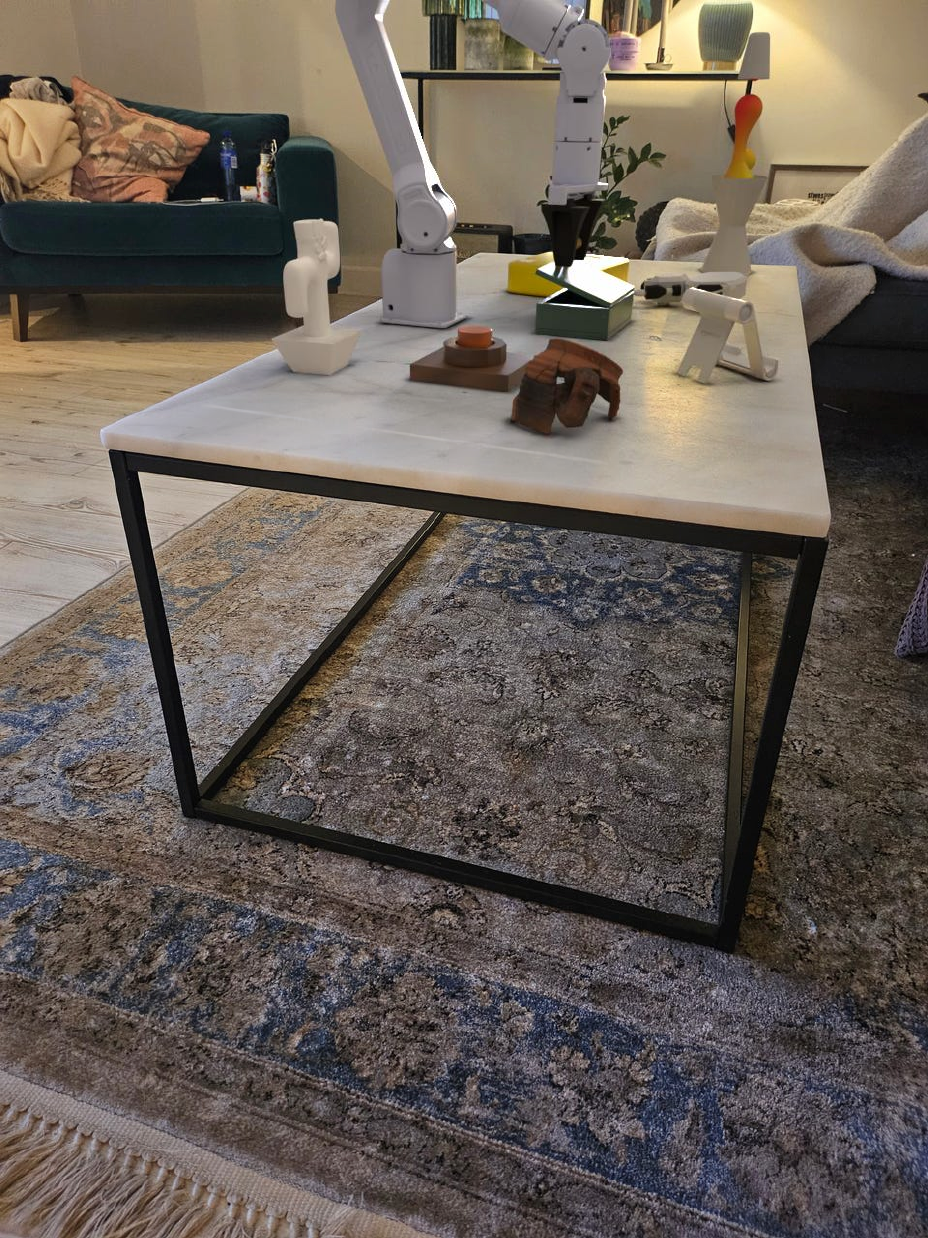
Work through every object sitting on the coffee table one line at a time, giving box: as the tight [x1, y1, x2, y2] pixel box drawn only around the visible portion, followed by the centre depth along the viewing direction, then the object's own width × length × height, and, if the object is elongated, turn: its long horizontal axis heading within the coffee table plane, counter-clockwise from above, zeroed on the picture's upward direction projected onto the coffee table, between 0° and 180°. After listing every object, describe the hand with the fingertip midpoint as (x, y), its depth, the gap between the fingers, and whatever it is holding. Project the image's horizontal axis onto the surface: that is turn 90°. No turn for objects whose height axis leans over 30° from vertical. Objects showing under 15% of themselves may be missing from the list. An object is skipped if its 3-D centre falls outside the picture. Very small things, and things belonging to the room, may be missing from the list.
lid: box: [535, 238, 636, 308], centre depth 111 cm, size 10×12×4 cm
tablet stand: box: [677, 288, 779, 384], centre depth 92 cm, size 9×8×8 cm
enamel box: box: [534, 288, 635, 341], centre depth 114 cm, size 9×12×4 cm
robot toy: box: [633, 272, 751, 306], centre depth 126 cm, size 12×4×15 cm
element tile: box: [507, 251, 630, 298], centre depth 137 cm, size 15×15×5 cm
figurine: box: [270, 218, 363, 376], centre depth 92 cm, size 7×9×15 cm
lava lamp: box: [700, 31, 771, 275], centre depth 145 cm, size 9×9×35 cm
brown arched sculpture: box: [509, 337, 624, 436], centre depth 78 cm, size 12×10×8 cm
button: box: [457, 325, 493, 347], centre depth 92 cm, size 4×4×2 cm
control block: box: [409, 336, 537, 393], centre depth 93 cm, size 11×9×4 cm
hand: (569, 262), depth 112 cm, fingers closed on lid, 5 cm apart
